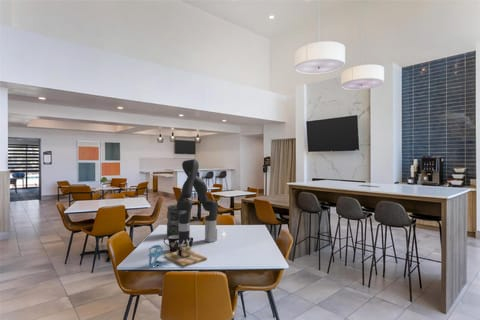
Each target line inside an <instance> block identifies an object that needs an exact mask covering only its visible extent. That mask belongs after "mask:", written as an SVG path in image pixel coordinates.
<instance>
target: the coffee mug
mask: <svg viewBox="0 0 480 320" xmlns="http://www.w3.org/2000/svg"><path fill="white" fill-rule="evenodd" d="M178 239H179V236H178V235H173V236H168V238H167V237H165V238H164V239H163V243H164V244H165V245H166V246H167V247H169V253H173V252H176V251H177V249H176V248H175V243H174V241H177V240H178ZM165 240H167V241H168V243H166V242H165ZM178 245H179V242H178Z"/></svg>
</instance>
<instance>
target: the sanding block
mask: <svg viewBox="0 0 480 320" xmlns="http://www.w3.org/2000/svg"><path fill="white" fill-rule="evenodd" d="M178 246H179V245H178ZM191 249H192V248H191V247H189V246H187V245H185V244H184V245H183V247H182V249H181V250H182V252H181V257H183V258H185V257H189V256H190V254H191V251H192V250H191ZM177 255H179V254H178V250H177ZM179 256H180V255H179Z"/></svg>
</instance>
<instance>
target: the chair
mask: <svg viewBox="0 0 480 320" xmlns="http://www.w3.org/2000/svg"><path fill="white" fill-rule="evenodd" d="M154 248H155V249H154ZM152 249H154V251H153V252H152ZM148 250H149V253H148V254H147V255H148V257H149V259H148V267H149V266H150V265H152V266H150V267H151V268H154V267H153V266H156V267H158V266H157V265H160V266H162V265H161V264H164V265H166V264H165V262H164V261H161V260H158V259H159V257H161V256H163V255H164V253H163V246H161V245H160V244H157V245H152V246H150V248H148ZM159 250H160V251H159ZM152 258H154V261H153V262H152ZM155 262H156V263H157V264H156V263H155ZM159 262H160V263H159Z"/></svg>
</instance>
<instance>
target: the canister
mask: <svg viewBox="0 0 480 320" xmlns="http://www.w3.org/2000/svg"><path fill="white" fill-rule="evenodd" d="M176 205H177V203H175V204H170V205H168V206H167V213H166V214H167V215H166V220H167V224H166V235H167V236H168V237H169V236H173V235H178V230H179V215H180V214H184V213H186V211H181V210H178V209H177V207H176Z"/></svg>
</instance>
